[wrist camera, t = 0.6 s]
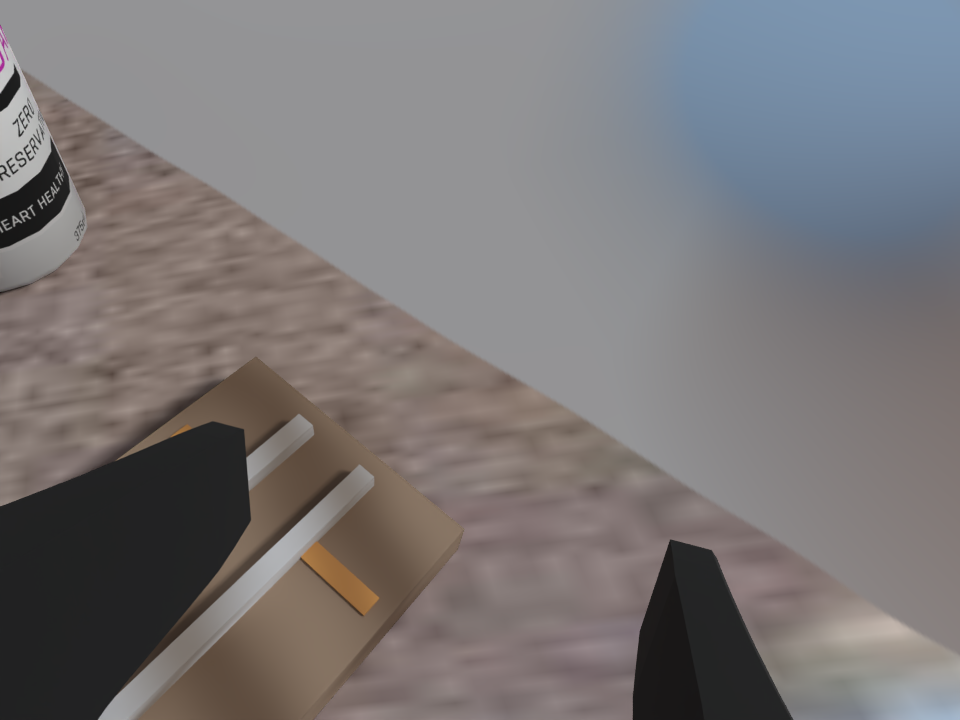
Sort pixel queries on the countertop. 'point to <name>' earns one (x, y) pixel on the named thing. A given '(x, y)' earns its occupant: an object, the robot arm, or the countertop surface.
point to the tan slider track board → (290, 566)
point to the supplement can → (31, 186)
